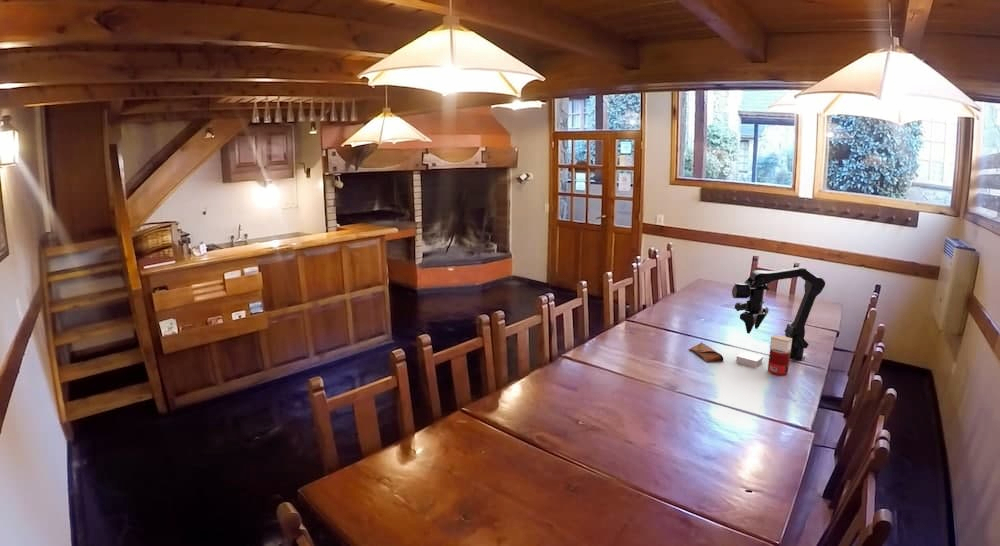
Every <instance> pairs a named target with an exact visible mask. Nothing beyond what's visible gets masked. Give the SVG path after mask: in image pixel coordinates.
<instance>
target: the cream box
mask: <svg viewBox="0 0 1000 546" xmlns="http://www.w3.org/2000/svg"><path fill="white" fill-rule="evenodd" d="M791 344H792V338H789V337H786V336H785V335H779V334H774V335H772V336H771V337H770V345H769V349H770V348H771V349H775V350H779V351H783V352H788V351H789V350H791Z"/></svg>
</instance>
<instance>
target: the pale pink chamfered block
mask: <svg viewBox="0 0 1000 546" xmlns="http://www.w3.org/2000/svg"><path fill="white" fill-rule="evenodd" d="M763 359H764V357H763V356H760V355H757V354H752V353H749V352H744V351H742V352H741V353H739V354H738V355H736V359H735V362H736V363H737V364H741V365H744V366H749V367H752V368H755V369H756V368H758V367H759V366H761V365H762V364H763Z"/></svg>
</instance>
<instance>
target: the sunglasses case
mask: <svg viewBox="0 0 1000 546" xmlns="http://www.w3.org/2000/svg"><path fill="white" fill-rule="evenodd" d="M687 350H689V352H691V351H692V352H691V353H692V354H694V355H696V356H697V355H698V356H697V357H699V358H700V359H701V360H703V361H704V362H705V363H709V364H710V363H722V362H723V363H724V356H723V355H722V354H721V353H719V352H717V351H716V350H714V349H713V348H712V347H710V346H709V345H707V344H705V343H703V342H702V341H701V342H699V343H698V344H696V345H694V346H692V347H691V348H688V349H687Z"/></svg>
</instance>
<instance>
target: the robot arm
mask: <svg viewBox="0 0 1000 546" xmlns="http://www.w3.org/2000/svg"><path fill="white" fill-rule="evenodd" d="M793 278H801V279H802V280H804V285H803V287H804V294H803V297H802V299H801V302H800V305H799V307H798V309H797V310H798V311H797V312H796V315H795V317H794V320H793V322H791V324H790V323H787V325H786V327H785V330H784V332H785V333H784V337H789V338H792V344H791V353H790V359H792V360H795V361H800V362H801V361H803V360H804V359H806V355H804V352H805V349H808V347H809V343H808V342H807V341H806V340H805V334H806V329H805V326H806V324H807V321H808V318H809V315H810V313H811V311H812V309H813V308H812V307H813V305H814V303H815V299H816V298H817V296H819V295H820V294H821V293H822V291H823V290H824V288H825V285H826V281H825V280H824V278H822V277H820V276H818V275H816V274H813V273H811V272H810V271H808V270H807V268H805V267H803V266H796V267H790V268H783V269H775V270H761V269H760V270H758V269H757V270H756V269H755V270H753V271H752V272H751V274H750V275H749V277H748V278H747V279H746V280H745V281H744V283H739V282H738V283H737V282H735V283H734V286H733V287H732V289H731V295H732V298H733V299H747V300H746V301H743V302H741V301H740V302H736V303H735V304H734V309H735V311H736V312H740V311H744V312H742V313H741V314H739V320H741V321H742V322H744V326H745V329H746V330H745V331H746V333H747V334H748V335H749V334H750V333H751V332H752V330H753V328H754V329H756V330H758V329H759V327H760V326H761V324H762V322H763V321H764V320H765V318H766V317H767V315H768V314H769V311H770V310H769V308H768V307H767V306H764V305H763V304H764V303H765V300H764V294H765V291H770V287H768V286H767V285H769V284H770V283H772V282H774V281H779V280H780V281H781V280H788V279H793ZM748 298H749V299H748Z"/></svg>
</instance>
